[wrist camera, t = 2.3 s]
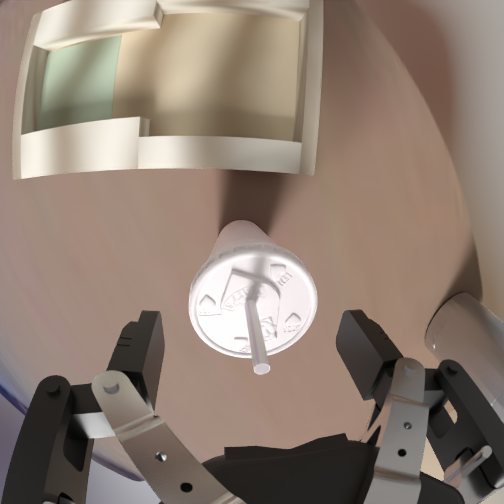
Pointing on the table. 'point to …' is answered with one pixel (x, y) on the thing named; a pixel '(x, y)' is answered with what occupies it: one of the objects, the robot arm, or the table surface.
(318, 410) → the table surface
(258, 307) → the smoothie
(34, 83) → the cream rectangular tray
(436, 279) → the table surface
